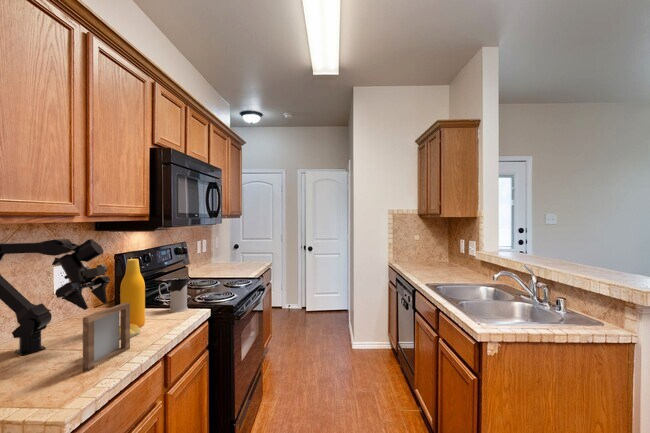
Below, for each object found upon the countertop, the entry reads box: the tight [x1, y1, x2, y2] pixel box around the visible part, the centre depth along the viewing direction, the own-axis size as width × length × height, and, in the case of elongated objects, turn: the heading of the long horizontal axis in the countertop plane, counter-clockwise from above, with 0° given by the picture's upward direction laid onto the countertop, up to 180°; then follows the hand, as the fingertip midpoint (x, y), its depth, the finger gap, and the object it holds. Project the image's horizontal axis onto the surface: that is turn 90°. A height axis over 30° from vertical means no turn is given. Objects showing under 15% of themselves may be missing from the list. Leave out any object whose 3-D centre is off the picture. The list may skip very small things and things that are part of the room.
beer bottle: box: [119, 258, 146, 328], centre depth 137 cm, size 9×9×29 cm
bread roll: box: [119, 324, 141, 340], centre depth 127 cm, size 8×9×4 cm
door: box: [94, 311, 120, 362], centre depth 107 cm, size 6×12×14 cm, turn 172°
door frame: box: [82, 303, 131, 372], centre depth 106 cm, size 2×17×16 cm, turn 172°
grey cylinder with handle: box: [158, 278, 189, 313], centre depth 161 cm, size 9×14×15 cm, turn 94°
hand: (96, 306), depth 114 cm, fingers open, 9 cm apart
